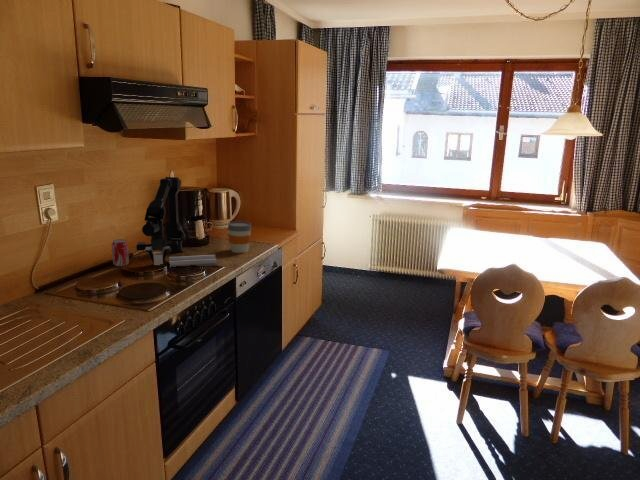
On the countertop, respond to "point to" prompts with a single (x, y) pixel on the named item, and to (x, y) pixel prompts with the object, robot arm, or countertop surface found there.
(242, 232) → the reusable coffee cup
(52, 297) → the countertop surface
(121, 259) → the soda can
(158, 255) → the block
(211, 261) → the rail
